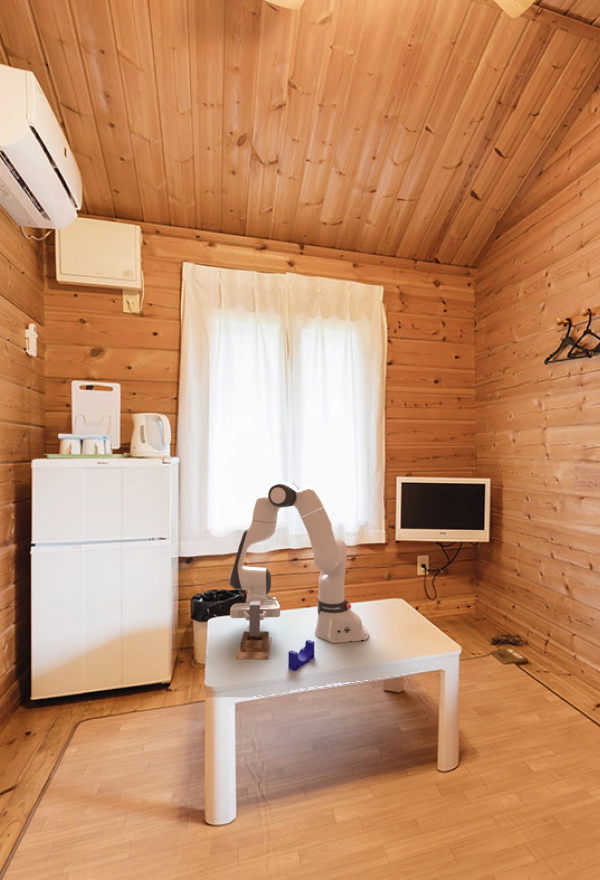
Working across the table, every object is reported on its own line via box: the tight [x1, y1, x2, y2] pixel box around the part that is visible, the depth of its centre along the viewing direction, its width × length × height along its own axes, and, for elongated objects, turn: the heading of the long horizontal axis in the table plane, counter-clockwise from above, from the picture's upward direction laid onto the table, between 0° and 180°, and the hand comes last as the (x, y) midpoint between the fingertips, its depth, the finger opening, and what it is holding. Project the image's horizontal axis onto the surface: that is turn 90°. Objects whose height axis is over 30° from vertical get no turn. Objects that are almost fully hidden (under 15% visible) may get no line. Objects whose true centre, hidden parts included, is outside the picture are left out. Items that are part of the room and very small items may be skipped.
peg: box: [248, 601, 261, 637], centre depth 158 cm, size 4×4×12 cm
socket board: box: [235, 630, 273, 660], centre depth 158 cm, size 12×16×4 cm
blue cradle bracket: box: [287, 639, 315, 672], centre depth 147 cm, size 12×4×6 cm, turn 144°
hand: (254, 618), depth 157 cm, fingers closed on peg, 4 cm apart
